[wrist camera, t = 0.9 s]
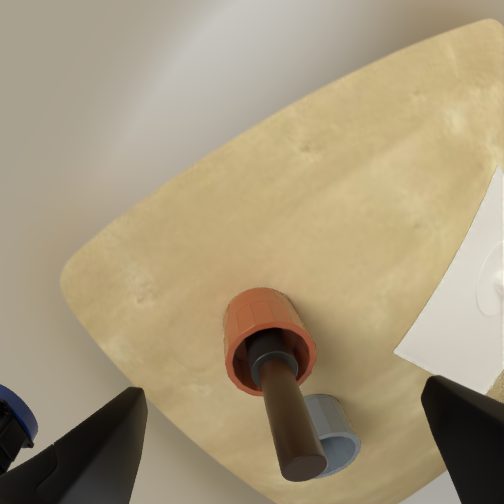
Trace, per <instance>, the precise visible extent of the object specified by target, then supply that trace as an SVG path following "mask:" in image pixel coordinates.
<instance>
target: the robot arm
mask: <svg viewBox="0 0 504 504" xmlns="http://www.w3.org/2000/svg"><path fill="white" fill-rule="evenodd" d="M421 402H422V405H423V408H424V411H425V414H426V417H427V420H428V423H429V426H430V429H431V432H432V435H433V437H434V440H435V442H436V444H437V446H438V449H439V451H440V453H441V455H442V458H443V460H444V462H445V465H446V467H447V469H448V472H449V474H450V476H451V479H452V481H453V484H454V486H455V489H456V491H457V494H458V496H459V499H460V501H461V504H504V404H503V403H501V402H499V401H497V400H494V399H492V398H490V397H488V396H485V395H483V394H481V393H479V392H476V391H474V390H472V389H470V388H468V387H465V386H463V385H461V384H459V383H457V382H454V381H452V380H450V379H448V378H446V377H444V376H441V375H435V376H431V377H429V378H428V379H427V382H426V385H425V387H424V390H423V392H422V395H421ZM147 414H148V409H147V404H146V399H145V394H144V390H143V389H142V388H139V387H128V388H127V389H126V390H124V391H123V392H122V393H120V394H119V395H118V396H116V397H115V398H114V399H112V400H111V401H110V402H108V403H107V404H106V405H104V406H103V407H102V408H100V409H99V410H98V411H96V412H95V413H94V414H92V415H91V416H90V417H88V418H87V419H86V420H85V421H83V422H82V423H80V424H79V425H78V426H76V427H75V428H74V429H72V430H71V431H70V432H68V433H67V434H65V435H64V436H63V437H61V438H60V439H59V440H57V441H56V442H54V445H53V444H51V445H50V446H49V447H47V448H46V449H44V450H43V451H42V452H40V453H39V454H38V455H36V456H34V457H33V458H31V459H29V460H28V461H26V462H24V463H23V464H21V465H19V466H17V467H15V468H14V469H12V470H10V471H8V472H7V470H8V468H9V466H10V464H11V463H12V462H14V460H15V458H16V457H17V455H18V453H19V451H20V449H21V448H22V447H26V448H33V446H34V443H33V442H32V440H31V439H30V437H29V436H28V434H27V433H26V431H25V430H24V428H23V427H22V425H21V424H20V422H19V421H18V419H17V417H16V416H15V414H14V413H13V411H12V409H11V408H10V406H9V404H8V403H7V402H6V401H5V400H3V399H0V504H129V501H130V498H131V494H132V490H133V486H134V482H135V478H136V475H137V471H138V467H139V463H140V460H141V455H142V449H143V442H144V434H145V428H146V421H147Z"/></svg>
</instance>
